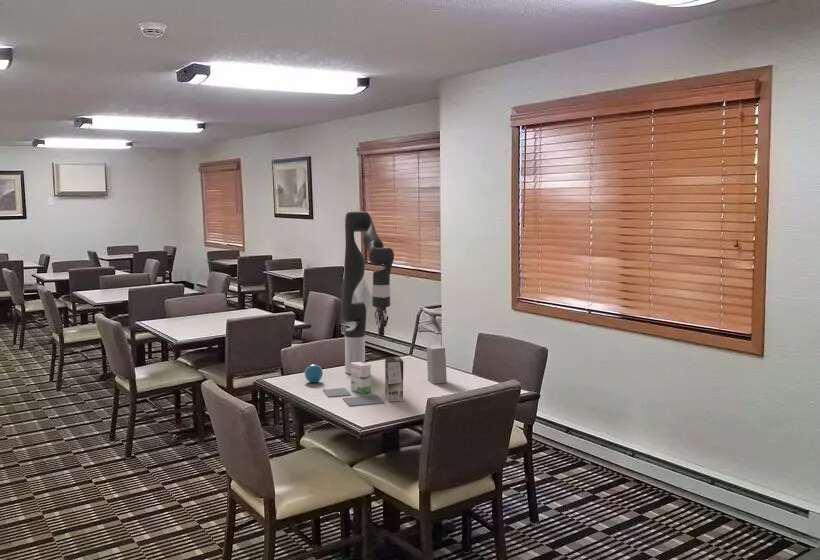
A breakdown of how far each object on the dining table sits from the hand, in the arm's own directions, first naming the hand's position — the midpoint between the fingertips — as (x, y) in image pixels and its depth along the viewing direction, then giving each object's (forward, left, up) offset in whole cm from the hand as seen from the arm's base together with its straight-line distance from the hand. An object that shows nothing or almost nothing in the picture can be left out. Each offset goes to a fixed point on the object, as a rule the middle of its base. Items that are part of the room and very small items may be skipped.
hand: (381, 335), depth 289 cm
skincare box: (-5, +27, -23) cm, 36 cm away
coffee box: (+15, +1, -23) cm, 28 cm away
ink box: (0, -9, -23) cm, 25 cm away
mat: (+7, -14, -23) cm, 28 cm away
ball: (-20, -25, -23) cm, 40 cm away
